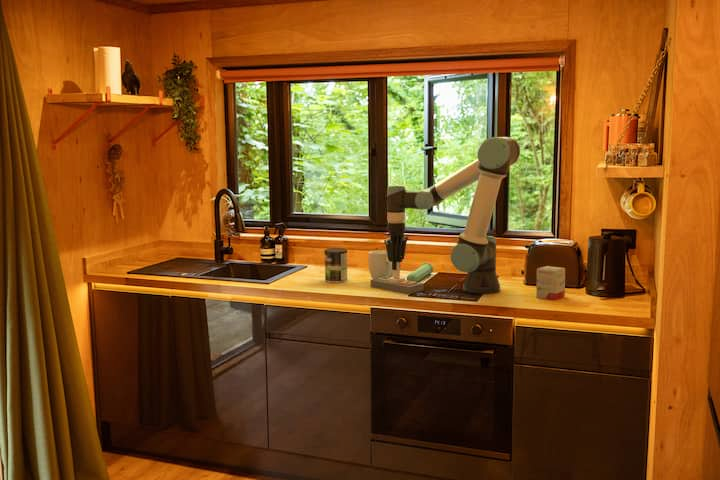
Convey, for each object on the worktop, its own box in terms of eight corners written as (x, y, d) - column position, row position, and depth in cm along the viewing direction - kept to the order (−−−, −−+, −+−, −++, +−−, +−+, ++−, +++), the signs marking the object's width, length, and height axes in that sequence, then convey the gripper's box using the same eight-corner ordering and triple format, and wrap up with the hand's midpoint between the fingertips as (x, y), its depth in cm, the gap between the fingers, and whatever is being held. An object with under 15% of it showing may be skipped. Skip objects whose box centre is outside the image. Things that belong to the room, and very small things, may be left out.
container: (413, 271, 312) (430, 260, 334) (402, 275, 314) (419, 264, 337) (419, 284, 312) (435, 272, 334) (407, 288, 314) (424, 276, 337)
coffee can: (330, 284, 317) (330, 252, 315) (321, 280, 326) (320, 249, 324) (351, 281, 322) (351, 250, 320) (341, 277, 331) (341, 247, 329)
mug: (403, 282, 317) (403, 253, 315) (383, 285, 311) (382, 255, 309) (384, 277, 329) (383, 249, 327) (364, 280, 323) (363, 251, 321)
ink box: (565, 296, 286) (566, 267, 284) (555, 300, 279) (556, 270, 278) (545, 293, 291) (546, 264, 290) (535, 297, 285) (535, 268, 283)
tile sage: (393, 285, 310) (393, 277, 309) (385, 287, 306) (385, 279, 306) (384, 284, 313) (384, 276, 313) (377, 286, 310) (377, 278, 309)
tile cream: (405, 285, 305) (405, 277, 305) (397, 287, 302) (397, 279, 301) (396, 284, 309) (396, 276, 308) (388, 286, 305) (388, 277, 305)
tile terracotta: (416, 290, 301) (416, 281, 300) (409, 292, 297) (409, 283, 297) (407, 288, 304) (407, 280, 304) (400, 290, 301) (399, 282, 300)
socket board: (423, 290, 301) (423, 283, 300) (409, 294, 295) (409, 286, 294) (384, 283, 316) (384, 276, 316) (370, 286, 310) (370, 279, 309)
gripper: (399, 219, 308) (399, 273, 312) (379, 222, 299) (379, 278, 303) (413, 221, 303) (412, 276, 307) (392, 224, 294) (392, 280, 297)
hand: (396, 277), depth 305 cm, fingers closed
